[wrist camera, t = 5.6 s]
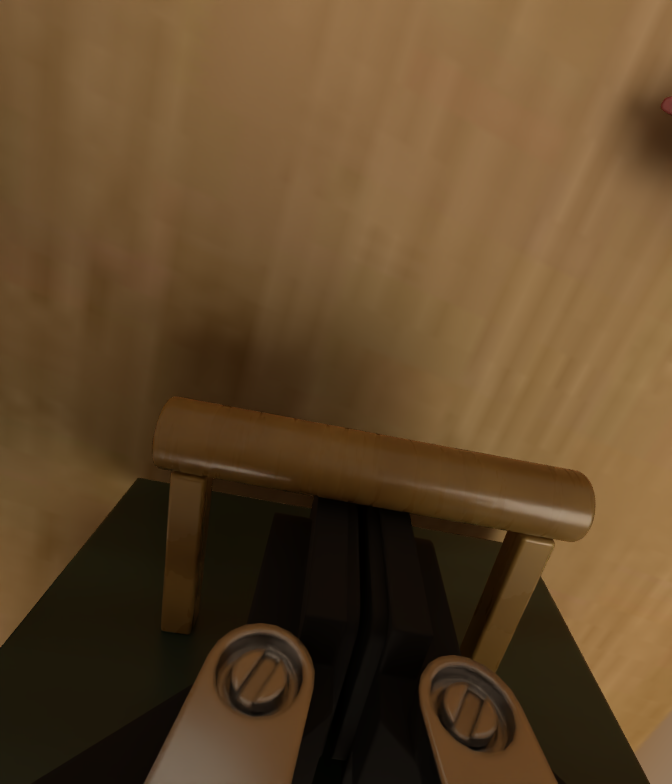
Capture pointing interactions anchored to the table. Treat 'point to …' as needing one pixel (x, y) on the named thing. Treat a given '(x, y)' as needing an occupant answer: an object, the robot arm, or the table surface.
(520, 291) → the table surface
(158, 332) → the table surface
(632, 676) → the table surface
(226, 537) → the drawer
